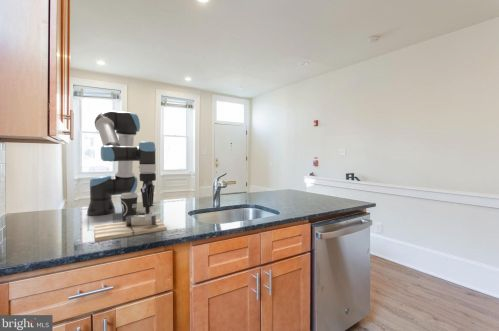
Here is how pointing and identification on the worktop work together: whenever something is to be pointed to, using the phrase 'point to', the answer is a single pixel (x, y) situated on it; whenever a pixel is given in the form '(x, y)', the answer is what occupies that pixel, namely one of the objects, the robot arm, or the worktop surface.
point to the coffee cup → (129, 204)
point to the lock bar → (140, 220)
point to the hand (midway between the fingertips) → (148, 219)
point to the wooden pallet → (125, 229)
